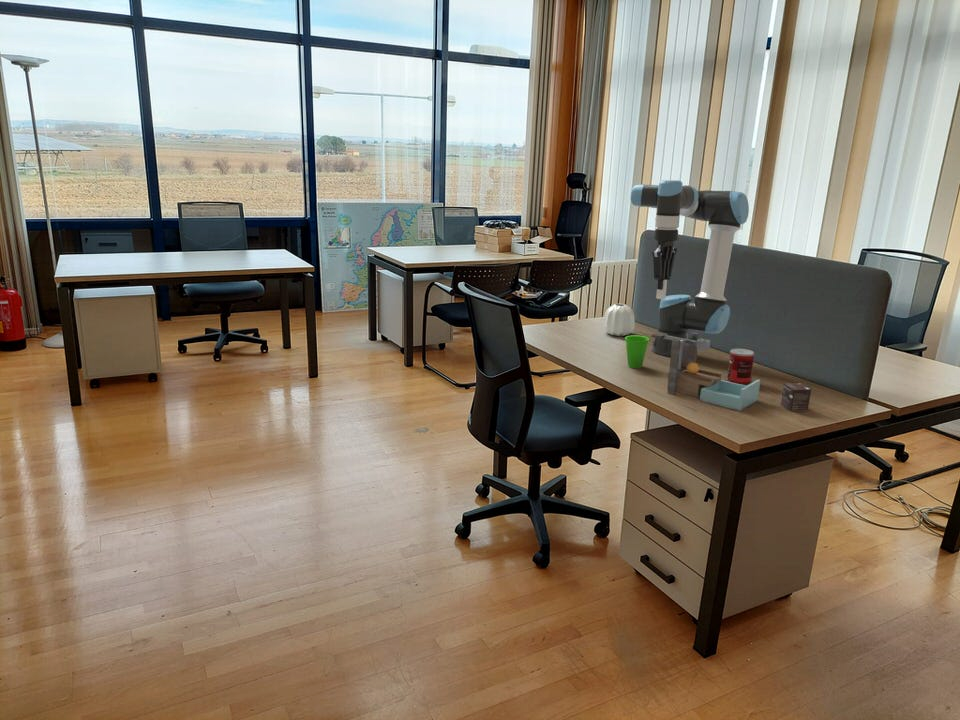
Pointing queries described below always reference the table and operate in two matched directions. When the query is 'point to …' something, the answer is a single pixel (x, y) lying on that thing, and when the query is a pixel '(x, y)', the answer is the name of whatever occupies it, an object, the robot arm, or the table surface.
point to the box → (796, 397)
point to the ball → (692, 368)
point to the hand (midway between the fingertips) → (660, 298)
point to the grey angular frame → (683, 379)
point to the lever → (685, 347)
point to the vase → (619, 320)
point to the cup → (636, 350)
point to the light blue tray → (731, 394)
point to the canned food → (740, 366)
